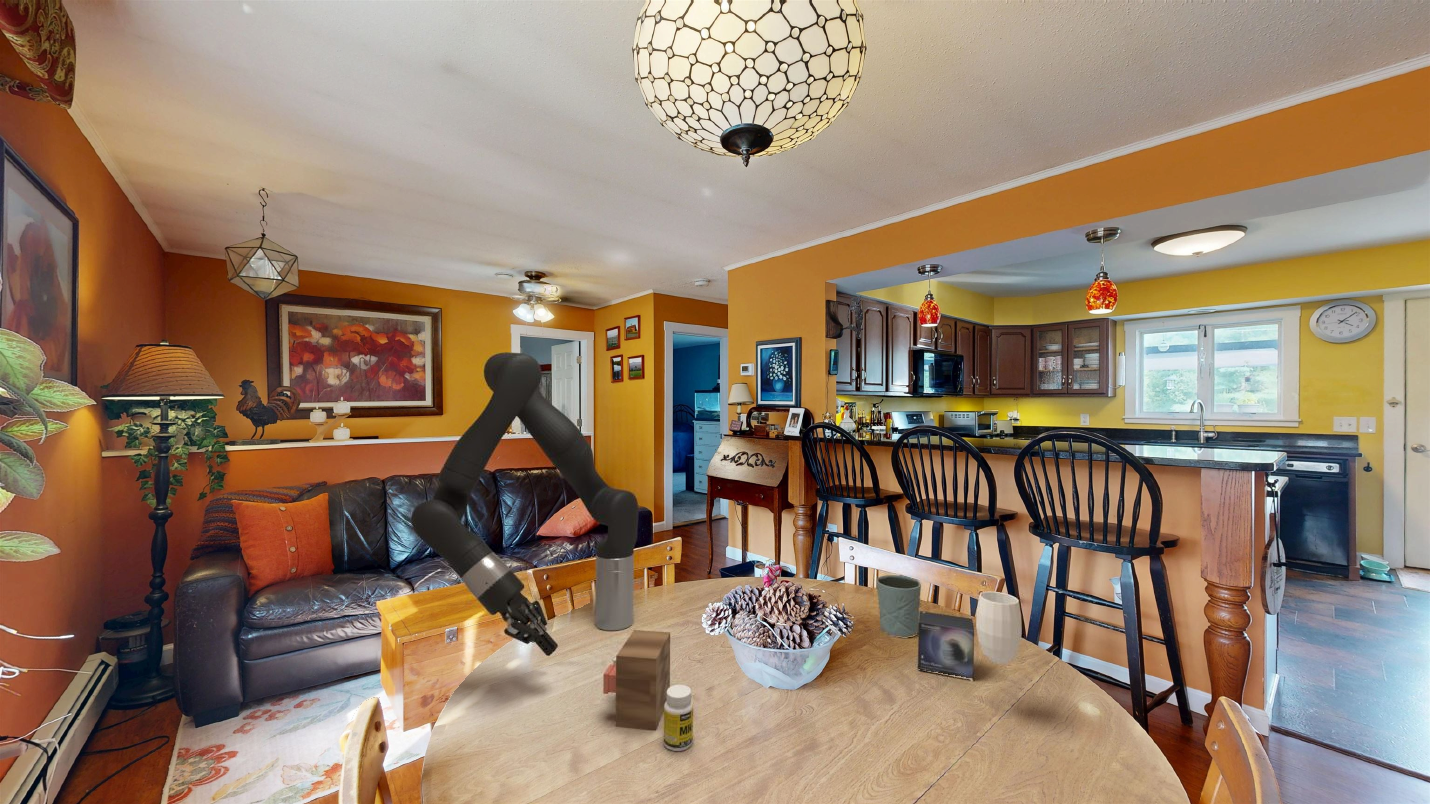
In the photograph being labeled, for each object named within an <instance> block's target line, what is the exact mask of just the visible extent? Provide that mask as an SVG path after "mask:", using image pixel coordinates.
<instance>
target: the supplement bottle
mask: <svg viewBox="0 0 1430 804" xmlns="http://www.w3.org/2000/svg"><path fill="white" fill-rule="evenodd" d="M666 699H667V701H666V702H665V705H664V712H663V745H664V747H666V748H667V749H668V750H669V751H673V752H682V751H685V750H687V749H689V748H690V747H691V746H692V744H693V740H694V735H693V734H694V703H693V701H692V689H691V688H690V687H689V686H687V685H684V684H675V685H670V688H668V690H667V697H666Z"/></svg>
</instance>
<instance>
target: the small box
mask: <svg viewBox="0 0 1430 804" xmlns="http://www.w3.org/2000/svg"><path fill="white" fill-rule="evenodd" d="M917 636H918V637H917V639H918V640H917V641H918V642H917V643H918V644H917V670H918V669H920V670H926V671H931V672H938V673H943V674H948V675H955V676H961V677H966V678H973V679H974V663H975V661H974V658H975V656H974V655H975V653H974V652H975V625H974V621H973V618H969V617H962V616H956V615H949V614H944V613H943V614H942V613H937V612H935V613H934V612H931V611H930V612H929V611H925V610H924V611H923V610H919V621H918V634H917Z"/></svg>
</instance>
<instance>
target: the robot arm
mask: <svg viewBox="0 0 1430 804" xmlns="http://www.w3.org/2000/svg"><path fill="white" fill-rule="evenodd" d="M541 368H542V367H541V365H540V363H539V362H538V360H537V359H535V358H534V356H531V355H529V354H526V353H521V352H506V351H505V352H499V353H495V354H493V355H491V356H489V358H488V359H487V360H486V362H485V364H484V367H483V377H484V380H485V383H486V385H487V387H488V389H490V390H491V391H492V395H491V397H490V399H489V401H488V403H487V404H486V406H485V408H484V409H483V411H482V412H481V413H480V415H479V416H478V417H477V419H475V421H474V422H473V423H472V424H471V425H470V426H469V427H468V428H467V429H466V431H465V432H464V433H463V434H462V435H461V436H460V437H459V439H458V440H457V441H456V443H455V444H454V446H453V448H452V450H451V451H450V453H449V454H448V457H447V458H446V460H445V462H444V464H443V465H442V468H441V469H440V472H439V474H438V476H437V481H438V487H437V488H436V490H435V493H434V494H433V497H432V499H428V500H425V501H422V502H420V503H419V504H418V505H416V506H415V508H414V509H413V511H412V513H411V517H410V523H411V526H412V529H413V531H414V532H415V534H416V536H418V538H419V539H420V540H422V542H424V543H425V544H426V545H427V547H429V548H431V549H432V550H433V551H434V552H435V553H436V554H438V555H439V556H440V557H442V558H443V559H444V560H445V562H447V563H448V565H449V567H450V568H451V569H452V570H453V571H454V572H455V573H456V574H457V576H458V577H459V578H460V579H461V581H462V582H463V583H464V584H465V586H466V588H467V590H469V592H470V593H471V594H472V595H473V596H474V597H475V598H476V600H477V601H478V602H479V604H480V605H482V606H483V608H484V609H485V610H486V611H487V612H488V614H490V615H491V616H495V615H497V614H498V613H499V614H500V616H501V618H502V620H503V621H504V622H506V624H507V627H505V629H504V630H503V632H504V634H505V635H507V636H508V637H511V638H513V639H515V640H517V641H520V642H522V643H524V644H526V645H529V644H530V643H532V644H533V643H534V644H536V645H537V647H538V648H539V649H540V650H541V651H542V653H544V655H545V656H547V657H550V656H551V655H552V654H553V653H555V651H556V650H557V649H558V647H559V645H558V643H557V642H556V641H555V640H554V639H553V638H552V636H551V635H550V634H549V633H548V632H547V627H546V626H547V625H548V622H547V619H546V615H545V614H544V611H543V609H542V605H541V603H540V601H538V600H537V599H536V600H534V601H533V602H531V601H530V599H529V598H528V597H526V596H525V595H524V594H523V593H521V592H522V591H523V590H524V589H525V584H524V583H523V581H522V580H520V579H519V577H518V576H517V575H516V573H515V572H513V571H512V569H511V568H510V567H509V566H508V565H507V563H506V562H504V561H503V560H502V559H501V557H499V556H498V555H497V554H496V553H495V552H494V551H493V550H492V549H491V547H489V545H488V544H487V543H486V542H485V541H484V540H483V538H482V537H480V536H479V535H478V534H476V533H474V532H473V531H470V530H469V529H468V528H467V527H466V526H465V525H464V523H462V520H463V518H464V516H465V513H466V511H467V508H468V505H469V503H470V499H471V497H472V493H473V490H474V489H475V487H476V486H477V484H478V482H479V480H480V479H481V476H482V475H483V473H484V471H485V469H486V467H487V465H488V464H489V461H490V459H491V457H492V455H493V454H494V452H495V450H496V449H497V447H498V446H499V443H500V442H501V440H502V438H503V437H504V436H505V434H506V433H507V431H508V429H509V428H510V427H511V426H512V424H513V422H515V419H516V418H517V419H518V420H519V421H520V422H521V424H523V427H525V429H526V431H527V432H528V433H529V434H530V436H531V437H532V439H533V440H534V441H535V442H536V444H537V445H538V446H539V448H540V449H541V450H542V451H543V452H542V453H544V454H545V456H546V457H547V458H548V460H549V461H550V463H552V465H553V466H554V467H555V468H556V470H557V471H558V472H559V473H560V474H561V475H562V477H564V479H565V481H567V483H568V484H569V485H570V486H571V488H573V490H574V492H576V494H577V495H578V497H579V499H580V501H581V502H582V503H583V505H584V507H585V509H586V510H587V512H588V513H589V516H590V517H591V518H592V520H594V521H595V522H596V523H598V524H600V525H603V526H607V535H606V538H604V539H601V540H599V541H598V542H597V543H596V546H595V626H596V628H598V629H600V630H603V631H618V630H619V631H621V630H625V629H627V628H629V627H631V626H632V625H633V624H634V585H635V584H634V573H635V572H634V571H635V569H634V567H635V566H634V565H635V564H634V563H635V562H634V558H635V556H634V555H635V545H636V543H637V539H638V526H639V503H638V499H637V497H636V495H635V494H634V493H633V492H632V491H629V490H627V489H626V490H625V489H620V488H614V487H611V486H610V485H608V484H607V482H606V481H605V480H604V479H603V478H602V477H601V475H600V474H599V473H598V471H597V469H596V466H595V461H594V460H595V459H594V454H593V448H592V446H591V444H590V443H589V441H588V439H586V437H585V436H584V434H583V433H582V431H581V430H580V429H579V428H578V426H576V424H575V423H574V422H573V421H572V420H571V419H570V418H569V417H568V416H566V415H565V414H564V412H562V411H561V410H559V409H558V408H556V407H555V405H553V404H552V403H551V402H550V401H548V400H547V398H545V396H543V395H544V394H542V393H541V391H540V390H539V389H538V387H539V386H540V383H541V381H542V369H541Z"/></svg>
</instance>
